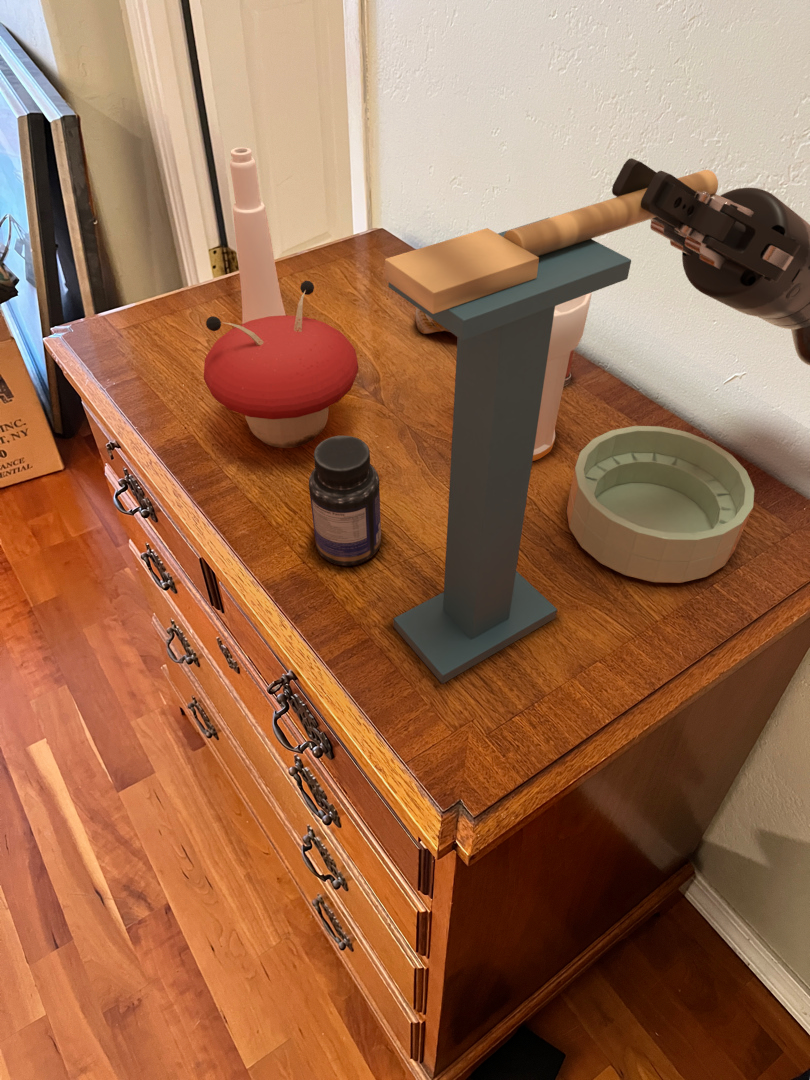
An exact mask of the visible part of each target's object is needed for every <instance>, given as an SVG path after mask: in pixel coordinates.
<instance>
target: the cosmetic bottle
mask: <svg viewBox="0 0 810 1080" xmlns="http://www.w3.org/2000/svg"><path fill="white" fill-rule="evenodd" d="M230 156H231V159H230V161H229V168H230V174H231V180H232V181H231V182H232V187H233V193H234V200H235V201H234V202H235V203H234V204H233V205H232V216H233V228H234V235H235V246H236V253H237V262H238V272H239V282H240V283H239V284H240V293H241V311H242V313H241V314H242V317H241V318H242V321H241V323H242V324H244V323H246V322H248V321H251V320H255V319H260V318H264V317H268V316H282V315H286V311H285V310H286V309H285V306H284V302H283V297H282V294H281V288H280V283H279V279H278V273H277V267H276V261H275V255H274V249H273V243H272V236H271V232H270V226H269V220H268V215H267V210H266V205H265V203H264V202H263V201H261V193H260V185H259V178H258V170H257V163H256V160H255V158H254V157H253V151H252V149H251V148H249V147H235V148H232V149H231V150H230Z"/></svg>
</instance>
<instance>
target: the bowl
mask: <svg viewBox="0 0 810 1080" xmlns="http://www.w3.org/2000/svg"><path fill="white" fill-rule="evenodd" d="M754 502H755V487H754V485H753V483H752V480H751V478H750V476H749V474H748V471H747V469H745V468H744V466H743V465H742V464H741V463H740V462H739V461H738V460H737V459H736V458H735V457H734V456H733V455H732V454H731V453H729V452H728V451H727V450H725V449H723V448H722V447H720V446H719V445H717V444H716V443H714V442H712V441H710V440H708V439H705V438H703V437H700V436H698V435H695V434H693V433H690V432H688V431H685V430H679V429H676V428H670V427H666V426H665V427H664V426H659V425H632V426H627V427H622V428H615V429H612V430H609V431H607V432H604V433H603V434H601V435H598V436H596V437H594V438H592V439H591V440H590V442H588V443H587V445H585V447H584V448H583V449H581V450H580V452H579V453H578V457H577V460H576V463H575V466H574V471H573V475H572V481H571V486H570V490H569V496H568V500H567V506H566V516H567V521H568V528H569V530H570V532H571V533H572V535H573V536H574V539H576V541H577V543H578V544H579V546H580V547H581V548H582V549H583V550H584V551H585V552H587V553H588V554H589V555H590V556H591V557H592V558H594V559H595V560H596V561H597V562H598V563H600V564H602V565H603V566H605V567H607V568H609V569H611V570H613V571H615V572H617V573H619V574H622V575H623V576H627V577H631V578H635V579H639V580H643V581H647V582H650V583H669V584H670V583H672V584H673V583H675V584H676V583H677V584H681V583H685V582H686V583H687V582H690V581H694V580H699V579H702V578H706V577H708V576H710V575H712V574H714V573H715V572H717V571H718V570H720V569H721V568H723V567H725V566H726V564H727V563H728V561H729V560H730V558H732V555H733V554H734V552H735V551H736V549H737V546H738V544H739V541H740V539H741V537H742V534H743V532H744V530H745V528H746V525H747V523H748V520H749V518H750V516H751V513H752V511H753V509H754V504H755V503H754Z"/></svg>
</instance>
